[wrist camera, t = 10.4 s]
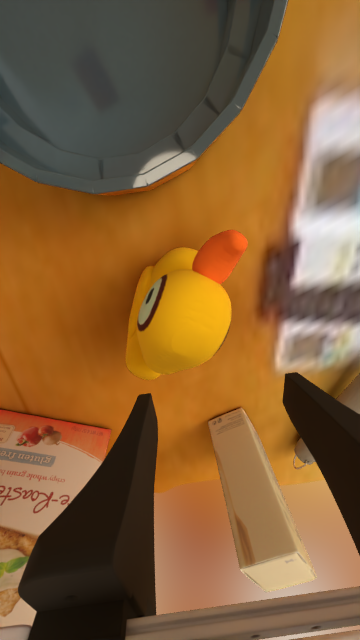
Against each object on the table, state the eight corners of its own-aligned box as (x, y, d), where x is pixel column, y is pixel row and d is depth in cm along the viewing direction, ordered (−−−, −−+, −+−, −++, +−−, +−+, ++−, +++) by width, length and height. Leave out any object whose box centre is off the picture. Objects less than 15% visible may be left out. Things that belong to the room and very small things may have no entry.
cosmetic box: (206, 419, 27) (235, 569, 16) (241, 404, 26) (298, 550, 15) (227, 451, 30) (265, 597, 19) (260, 438, 29) (320, 582, 18)
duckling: (175, 199, 17) (189, 198, 8) (237, 236, 18) (308, 272, 9) (114, 327, 21) (79, 420, 12) (169, 349, 22) (173, 448, 14)
